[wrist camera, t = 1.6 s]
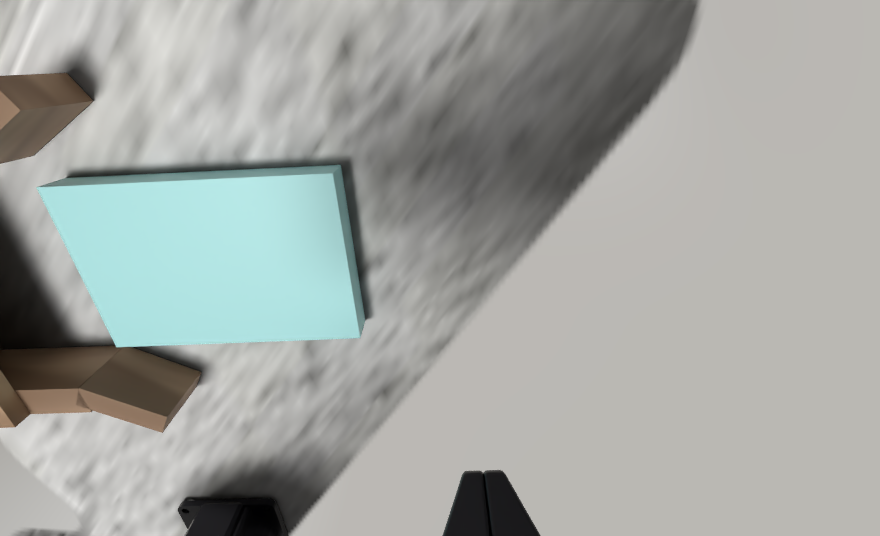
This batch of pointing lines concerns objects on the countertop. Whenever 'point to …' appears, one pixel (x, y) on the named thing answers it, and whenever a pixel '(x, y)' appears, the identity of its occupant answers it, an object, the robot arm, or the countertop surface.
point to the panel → (214, 254)
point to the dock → (75, 368)
